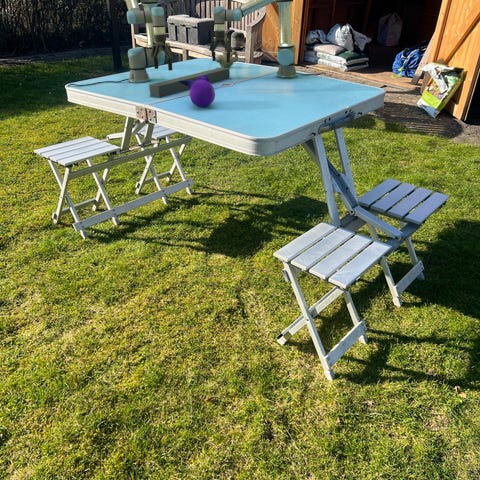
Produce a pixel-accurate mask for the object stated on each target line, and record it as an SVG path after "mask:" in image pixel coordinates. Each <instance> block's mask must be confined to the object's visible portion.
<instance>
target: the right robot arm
mask: <svg viewBox="0 0 480 480" xmlns="http://www.w3.org/2000/svg"><path fill="white" fill-rule="evenodd" d="M274 2H275V3H276V4H277V5H278V32H279V33H278V37H279V39H278V40H279V43H278V44H277V55H276V60H277V63H278V64H279V66H278V69H277V72H276V77H277V78H279V79H294V78H297V76H298V75H300V76H319V75H322V74H324V75H327V73H326V72H320V73H299V72H297V69H296V49H297V47H296V44H294V43H293V42H292V41H293V39H292V36H293V35H292V4H293V3H294V0H249V1H247V2H245V3H243V4H241V5H239V6H238V7H237V6H236V7H235V8H233V9H225V6H220V5H219V6H214V8H213V18H214V19H213V20H214V36H215V37H214V36H213V37H211V42H210V45H209V48H208V50H209V52H211V59H212V62H216V49H217V47H218V45H220V46H222V47H223V48H224V49H225V50H226V51H227V53H226V54H227V63H229V62H230V53H231V52H233V51H234V50H233V48H232V46H231V43H230V39H229V37H226V22H236V23H237V22H241V21H242V18H244V17H246V16H248V15H250V14H252V13H254V12H256V11H258V10H260V9H262V8H264V7H267V6H269V5H270V4H272V3H274ZM225 50H224V51H225Z"/></svg>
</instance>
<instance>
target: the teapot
mask: <svg viewBox="0 0 480 480" xmlns="http://www.w3.org/2000/svg"><path fill="white" fill-rule="evenodd" d="M232 51H233V52H231V53H230V62H229V63H227V54H226V53H227V51H226V50H225V48H224V50H223V51H222V54H218V55H217V56H215V58H216V61H215V62H216V63H218V64H219V66H220V68H229V69H230V68H231V67H232V66H233V65H234V63H236V62H237V61H238V59H239V55H238V51H237V50H232ZM233 56H234V57H233Z"/></svg>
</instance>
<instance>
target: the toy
mask: <svg viewBox="0 0 480 480" xmlns="http://www.w3.org/2000/svg"><path fill="white" fill-rule="evenodd" d="M179 82H180V83H182V84H184V85H186V86H188V87H189V88H191V89H190V90H189V97H190V101H191V103H192V104H193V105H194V106H196V107H198V108H203V109H205V108H208V107H210V106H211V105H212V104H213V102H214V101H215V98H216V91H215V88H214V85H213V83H212V84H211V83H210V82H209V78H208V76H202V77H198V79H197V81H179Z"/></svg>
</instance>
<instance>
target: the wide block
mask: <svg viewBox="0 0 480 480" xmlns="http://www.w3.org/2000/svg"><path fill="white" fill-rule="evenodd" d="M230 74H231V72H230V67H229V68H222V67H217V68H213V69H209V70H205V71H201V72H197V73H192V74H188V75H184V76H180V77H176V78H172V79H167V80H163V81H159V82H154V83H151V84H149V85H148V87H149V96H150V97H153V98H159V99H160V98H164V97H168V96H172V95H176V94H179V93H182V92H186V91H190V89H191V88H189V87H188V86H186V85H184V84H182V83H180V82H179V81H197V79H198V77H202V76H208V78H209V82H210V83H211V84H212V85H213V84H215V83H219V82H223V81H226V80H230V79H231V75H230Z"/></svg>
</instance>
